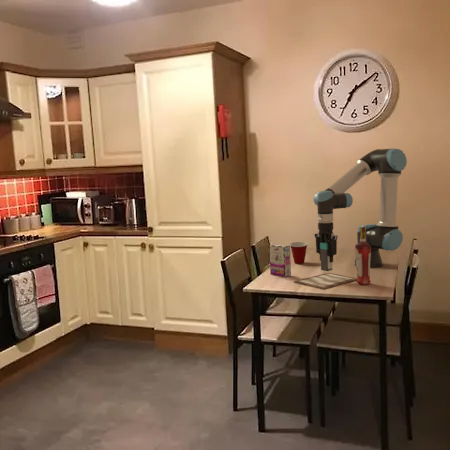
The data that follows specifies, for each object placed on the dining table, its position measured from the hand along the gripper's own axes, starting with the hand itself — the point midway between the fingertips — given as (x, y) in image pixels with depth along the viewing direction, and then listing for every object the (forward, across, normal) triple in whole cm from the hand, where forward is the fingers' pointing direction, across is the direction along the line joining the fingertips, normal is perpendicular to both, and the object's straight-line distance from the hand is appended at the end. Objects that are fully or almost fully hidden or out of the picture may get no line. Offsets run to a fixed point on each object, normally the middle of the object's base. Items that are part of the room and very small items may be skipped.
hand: (326, 267), depth 259 cm
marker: (+1, 0, 0) cm, 1 cm away
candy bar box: (+7, -26, -8) cm, 28 cm away
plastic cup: (+7, -40, +20) cm, 45 cm away
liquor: (+7, +18, +6) cm, 20 cm away
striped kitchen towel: (+7, +1, -2) cm, 7 cm away
